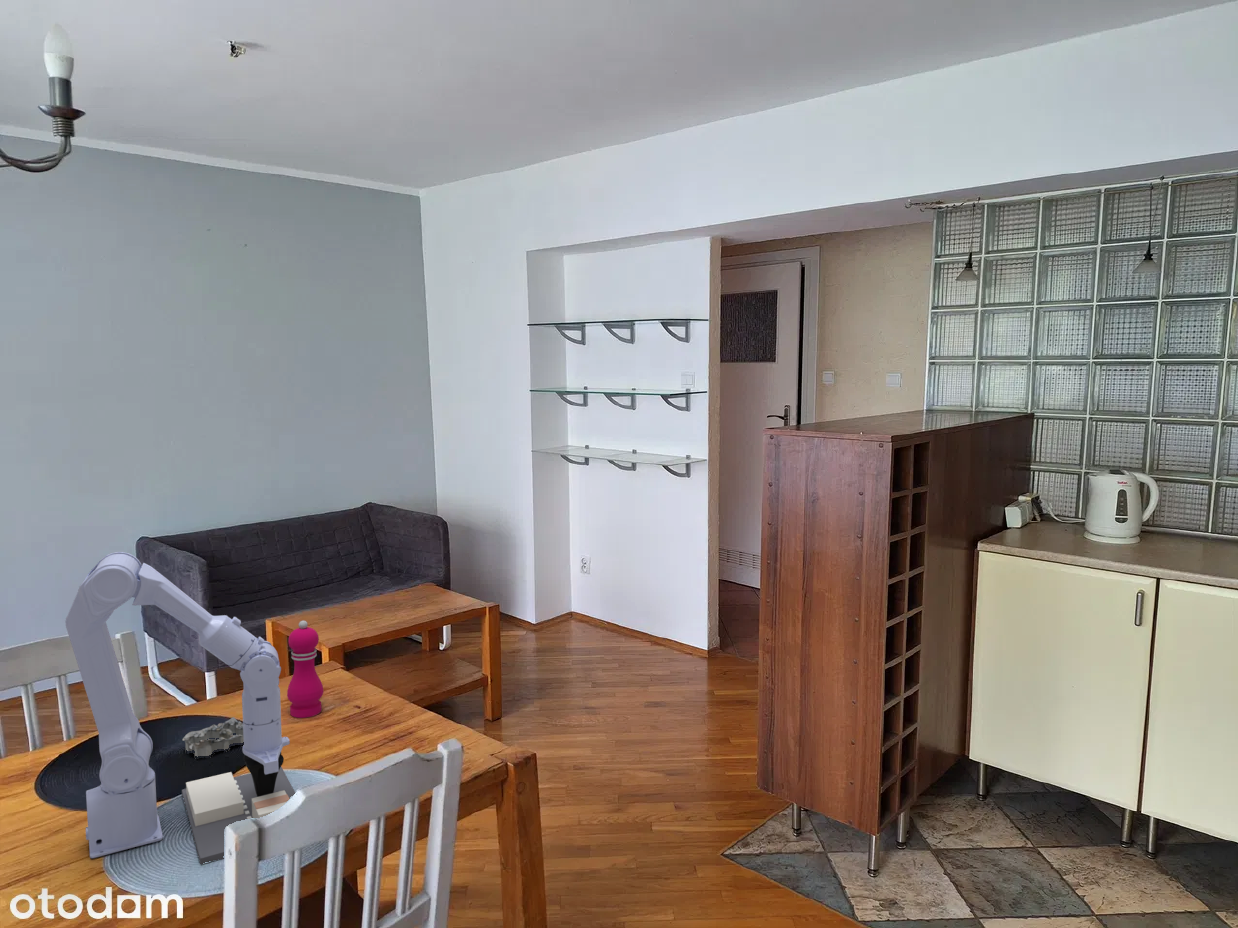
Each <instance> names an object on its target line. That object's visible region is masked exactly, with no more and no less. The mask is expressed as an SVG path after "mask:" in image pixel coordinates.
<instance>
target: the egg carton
mask: <svg viewBox="0 0 1238 928" xmlns="http://www.w3.org/2000/svg"><path fill="white" fill-rule="evenodd" d="M233 733H236V735H233ZM209 738H215V739H209ZM216 738H219V739H217V740H216ZM207 739H208V740H207ZM182 741H184V743H185V744H184V745H185V751H186V750H187V751H192V750H194V751H195V753H194V757H195V756H197V757H198V756H209V755H211V754H212V752H213V751H214V750H217V749H224V750H225V749H228V748H229V745H230V744H233V743H243V742H244V737H243V722H241V721H240V720H237V719H236V718H235V717H231V718H230V719H228V720H225V721H224V722H220V723H218V724H217V725H216V724H212V725H210V726H209V727H205V728H202V729H200V730H196V731H189V732H188V733H187V734H185V736H184V737H183V738H182ZM229 749H230V748H229Z"/></svg>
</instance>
